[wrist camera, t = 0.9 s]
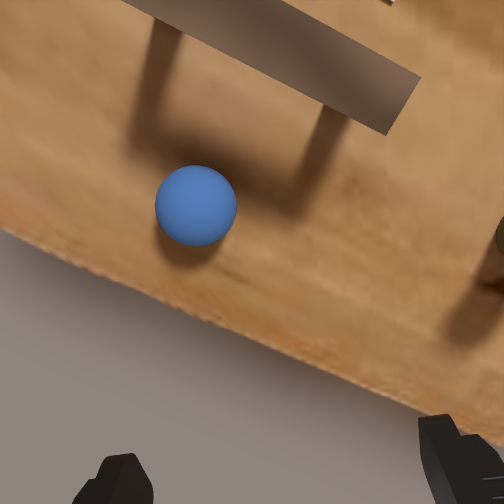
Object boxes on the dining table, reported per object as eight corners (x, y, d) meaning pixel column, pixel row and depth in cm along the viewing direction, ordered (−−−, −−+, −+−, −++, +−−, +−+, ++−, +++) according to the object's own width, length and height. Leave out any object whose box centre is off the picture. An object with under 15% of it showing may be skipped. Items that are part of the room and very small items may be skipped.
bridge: (349, 111, 28) (385, 135, 20) (156, 11, 26) (100, -11, 17) (372, 70, 27) (421, 77, 18) (170, -39, 25) (118, -90, 16)
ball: (156, 209, 32) (134, 240, 27) (180, 143, 30) (161, 162, 25) (222, 238, 33) (213, 273, 28) (251, 176, 31) (247, 201, 25)
